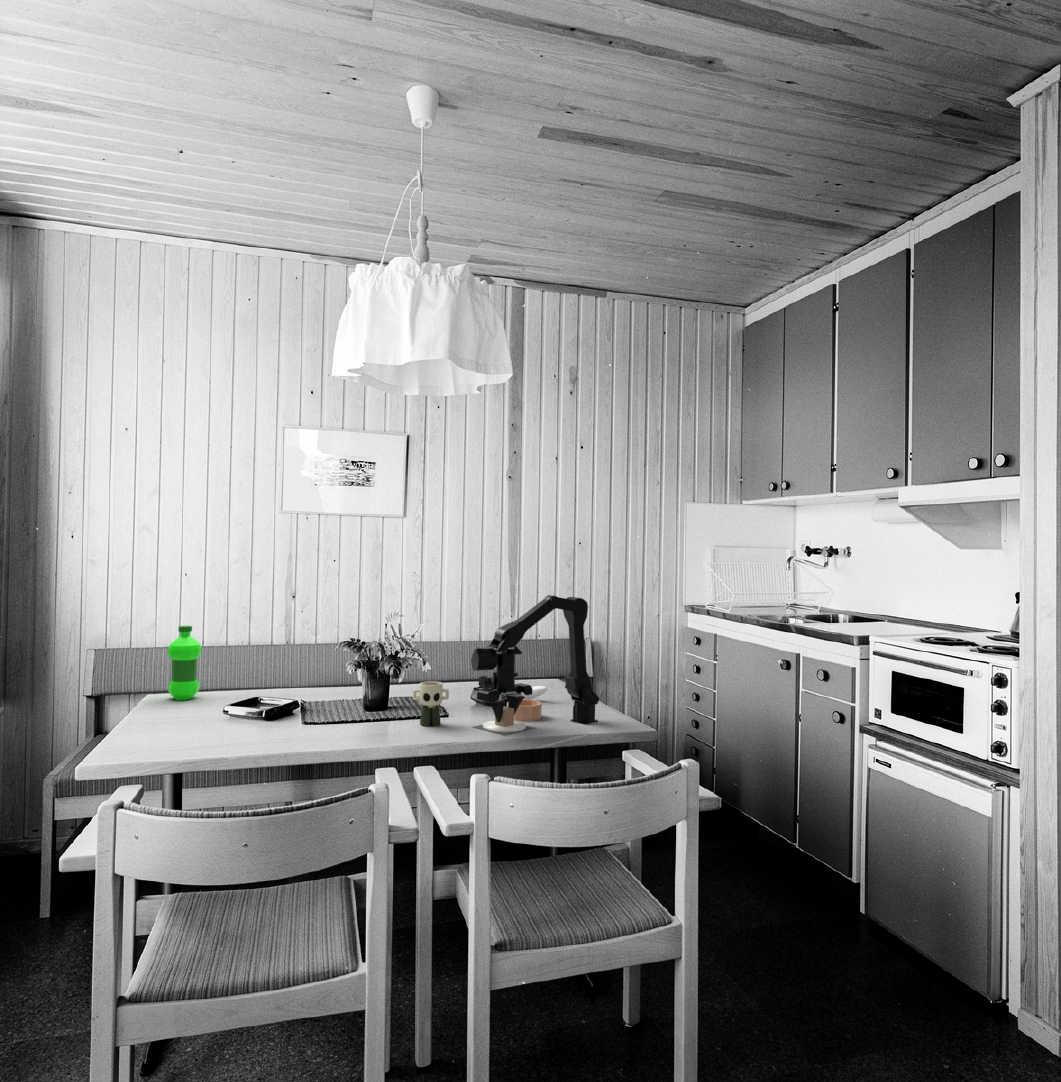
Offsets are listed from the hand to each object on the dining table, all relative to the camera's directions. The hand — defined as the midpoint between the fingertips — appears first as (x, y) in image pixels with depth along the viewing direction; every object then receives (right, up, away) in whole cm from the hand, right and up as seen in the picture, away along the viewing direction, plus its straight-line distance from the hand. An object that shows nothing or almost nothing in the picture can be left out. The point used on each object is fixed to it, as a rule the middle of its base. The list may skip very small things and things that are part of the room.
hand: (504, 720), depth 235 cm
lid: (0, -2, 0) cm, 2 cm away
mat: (0, -3, 0) cm, 2 cm away
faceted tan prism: (+6, -3, +15) cm, 16 cm away
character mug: (-23, -2, +2) cm, 23 cm away
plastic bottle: (-112, 0, +34) cm, 117 cm away
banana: (+4, -3, +43) cm, 43 cm away
